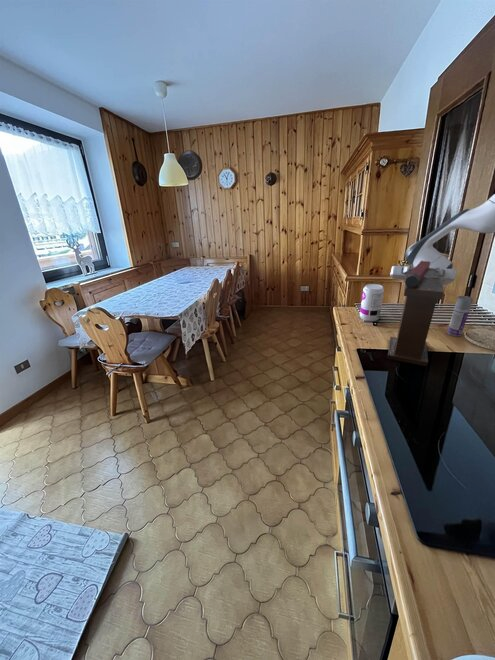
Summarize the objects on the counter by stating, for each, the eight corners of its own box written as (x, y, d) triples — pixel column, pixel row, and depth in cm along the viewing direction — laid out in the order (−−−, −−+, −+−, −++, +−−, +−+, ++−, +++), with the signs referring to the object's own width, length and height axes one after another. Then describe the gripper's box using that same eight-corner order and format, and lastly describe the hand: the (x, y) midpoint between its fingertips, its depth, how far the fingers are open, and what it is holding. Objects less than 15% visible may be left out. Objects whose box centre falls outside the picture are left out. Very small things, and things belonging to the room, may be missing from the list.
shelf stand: (389, 340, 110) (402, 275, 98) (425, 346, 104) (444, 278, 92) (387, 358, 99) (401, 288, 87) (426, 366, 94) (448, 292, 81)
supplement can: (358, 320, 126) (362, 288, 119) (361, 313, 132) (365, 282, 125) (377, 323, 122) (383, 290, 116) (379, 315, 129) (385, 284, 122)
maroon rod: (418, 268, 103) (420, 259, 101) (429, 270, 101) (431, 260, 99) (403, 286, 88) (406, 275, 86) (416, 288, 86) (419, 276, 84)
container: (457, 330, 113) (468, 295, 106) (463, 336, 109) (476, 300, 102) (444, 330, 113) (455, 295, 106) (450, 336, 109) (462, 300, 102)
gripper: (391, 267, 113) (392, 257, 101) (451, 271, 105) (461, 261, 92) (388, 283, 113) (389, 275, 101) (448, 288, 105) (458, 280, 92)
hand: (424, 268), depth 96 cm, fingers open, 7 cm apart
